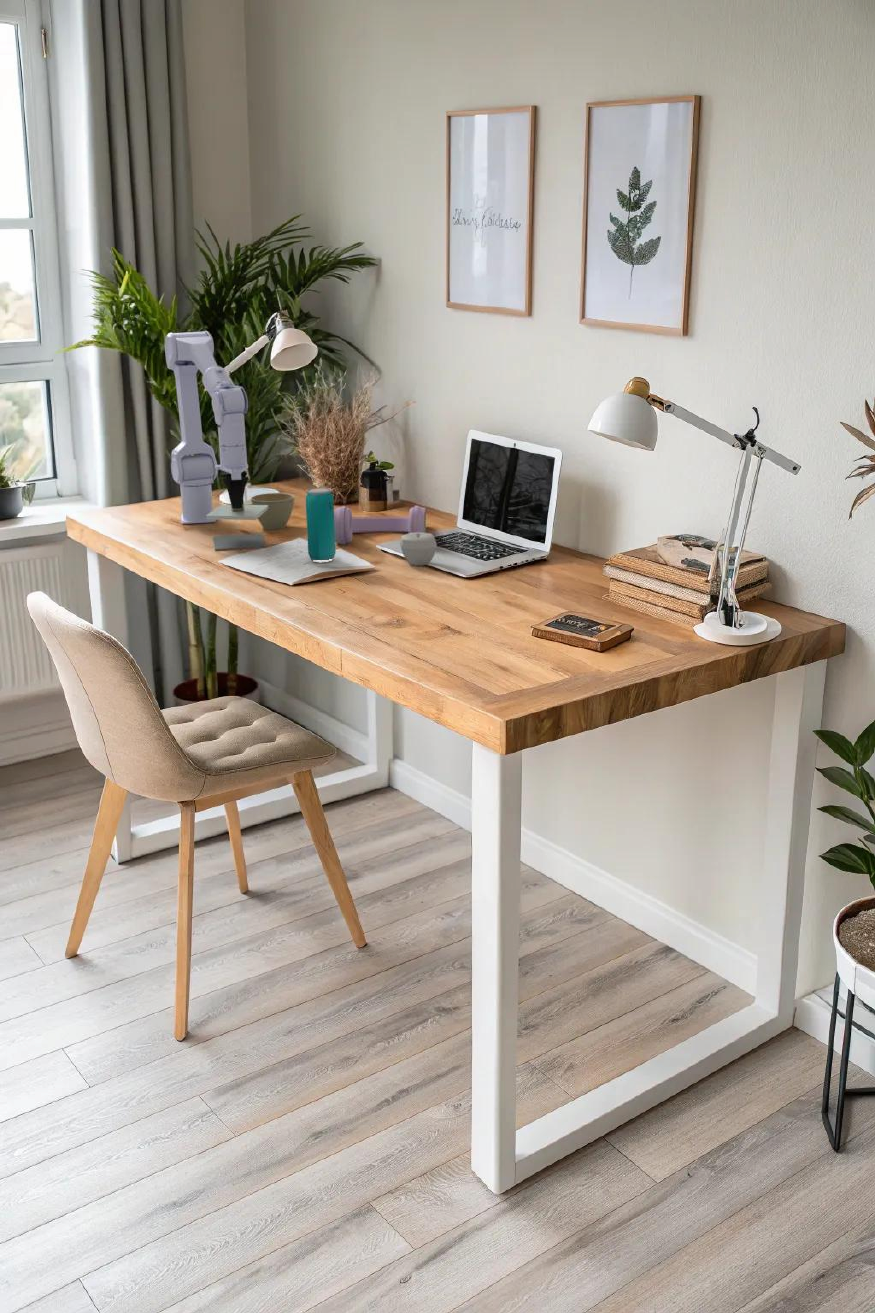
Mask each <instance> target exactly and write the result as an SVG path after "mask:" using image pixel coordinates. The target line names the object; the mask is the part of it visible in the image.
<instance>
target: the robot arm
mask: <svg viewBox="0 0 875 1313" xmlns="http://www.w3.org/2000/svg"><path fill="white" fill-rule="evenodd" d="M214 345H215V344H214V339H213V337H212V334H211V333H210V332H209V331H207V330H203V331H192V332H190V331H189V332H174V333H173V332H168V334H167V335H166V336H165V338H164V353H165V361H166V362H165V363H166V365H167V369H168V370H172V372H173V373H174V378H175V388H176V395H177V397H176V398H177V406H178V415H179V427H180V434H181V442H180V443H178V445H177V446H176V447H175V448H174V449H172V451H171V455H170V456H171V462H170V471H171V472H170V473H171V475H172V479H173V481H174V482H175V483H177V485H179V486H180V499H181V511H182V512H181V514H180V519H181V524H182V525H188V524H189V525H190V524H204V523H206V524H207V523H216V522H217V519H206V515H208V514H209V513H210V512H212V511H213V510H214V507H213V506H214V505H213V494H212V493H213V492H212V491H213V490H212V484H214V480H216V477H217V476H218V473H219V470H220V471H223V472H221V473H220V476H221V480H222V482H223V483H224V485H225V487H226V489H227V490H226V491H227V494H228V498H229V502H230V505H232V508H233V509H236V508H242V506H243V501H244V496H245V490H246V486H247V484H248V482H249V476H247V475H248V472H247V471H246V470H247V469H248V468H249V464H248V456H247V442H246V440H247V439H246V427H245V414H247V412H248V408H249V402H248V396H247V392H246V391H245V389H244V387H243V386H239V385H235V383H234V382H233V380H232V379H231V377H230V375H229V373H228V372H227V370H226V369H225V368H223V367H222V366H218V364H217V362H216V359H215V357H214V353H215V352H214V350H215V346H214ZM198 371H200V373H201V374H202V379H201V382H202V384H203V386H204V387H205V390H206V391H207V393H208V394H209V396H210V398H211V407H212V411H213V414H214V421H215V424H217V432H218V434H217V435H218V446H219V447H218V448H219V449H218V450H219V462H220V463H219V464H218V461H217V459H216V455H215V451H214V450H215V449H214V448H213V447H212V446H211V445H209V444H208V443H206V442H204V439H203V430H202V419H201V410H200V400H199V390H198V388H199V387H198V380H197V373H198Z"/></svg>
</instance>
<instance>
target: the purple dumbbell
mask: <svg viewBox="0 0 875 1313" xmlns="http://www.w3.org/2000/svg"><path fill="white" fill-rule="evenodd" d="M408 511H409V513H408V516H356V517H355V516H354V517H353V514H352V510H351V508H349V507H347V506H346V505H343V506H342V505H341V506H340V507H336V508H334V523H335V544H340V545H343V546H346V545H347V544H350V543H351V542H352V539H353V533H355V534H356V533H381V532H383V533H384V532H385V533H386V532H387V533H389V532H390V533H408V534H409V533H415V532H423V533H427V518H426V516H427V514H426V508H425V507H421V506H420V505H414V507H413V506H412V507H411V508H410V509H409V510H408Z"/></svg>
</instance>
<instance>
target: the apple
mask: <svg viewBox="0 0 875 1313" xmlns="http://www.w3.org/2000/svg"><path fill="white" fill-rule="evenodd" d="M399 545H400V549H401V552H402V555H403V556H404V558H405V560H406V562H407V563H408V565H411V566H416V567H418V566H419V567H420V566H422V567H423V566H426V565H428V564H430V562H432V561H433V558H434V557H435V553H436V550H437V547H438V544H437V542H436V538H435V536H434V535H433V534H432V533H429V532H428V533H427V532H426V533H423V532H415V533H409V532H408V533H405V534H402V535H401V537H400V542H399Z"/></svg>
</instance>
